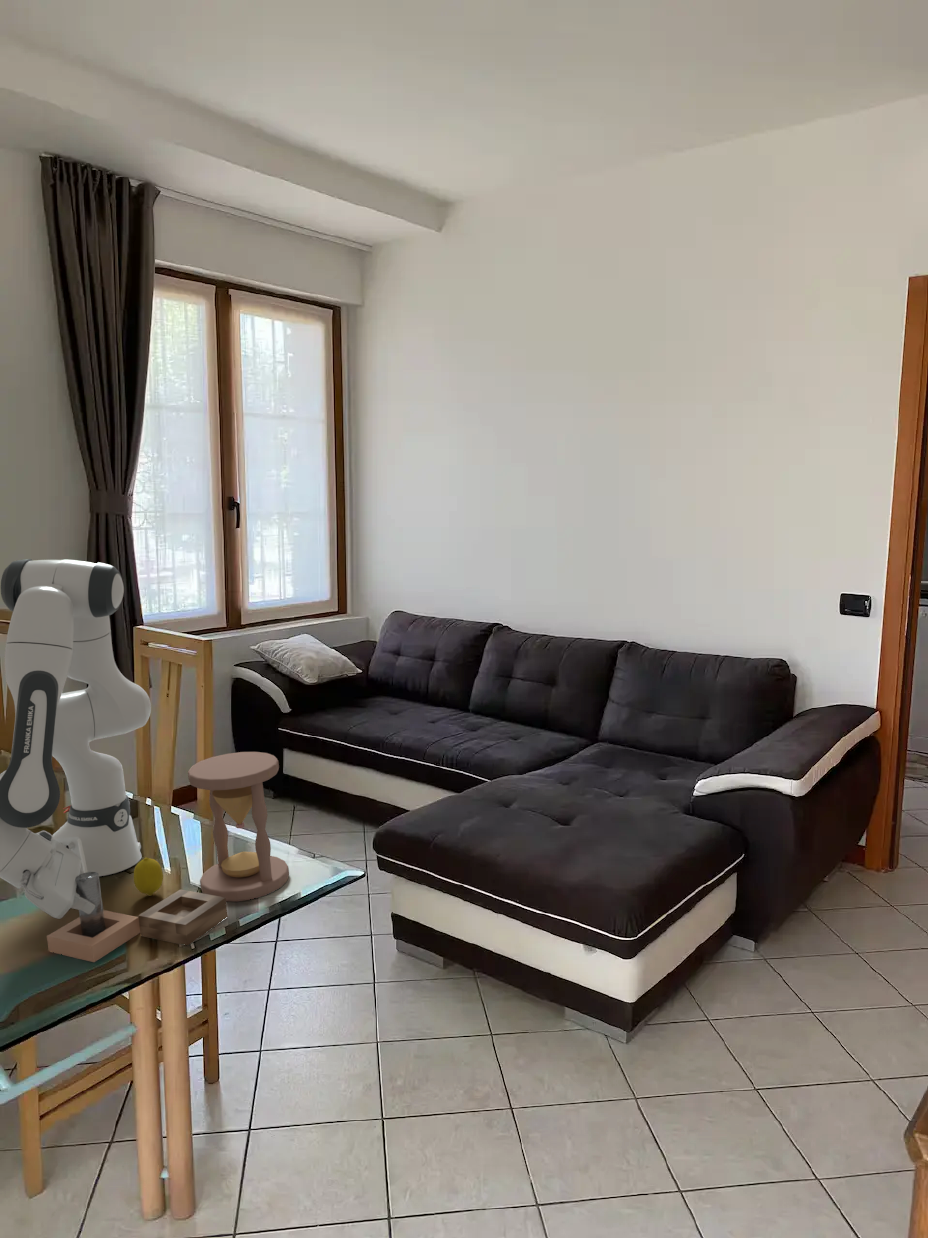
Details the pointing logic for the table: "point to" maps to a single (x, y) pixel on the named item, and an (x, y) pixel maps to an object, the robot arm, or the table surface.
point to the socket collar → (94, 948)
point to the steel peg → (91, 890)
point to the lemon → (148, 876)
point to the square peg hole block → (183, 917)
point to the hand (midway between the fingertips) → (94, 902)
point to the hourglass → (239, 824)
